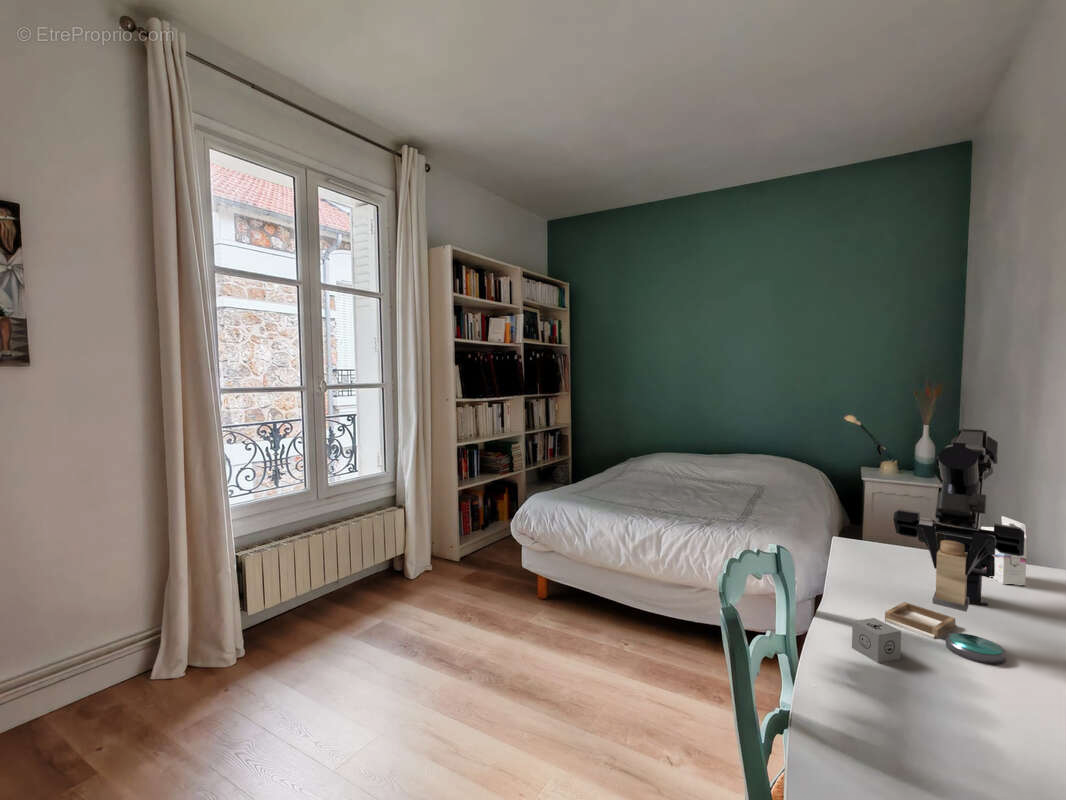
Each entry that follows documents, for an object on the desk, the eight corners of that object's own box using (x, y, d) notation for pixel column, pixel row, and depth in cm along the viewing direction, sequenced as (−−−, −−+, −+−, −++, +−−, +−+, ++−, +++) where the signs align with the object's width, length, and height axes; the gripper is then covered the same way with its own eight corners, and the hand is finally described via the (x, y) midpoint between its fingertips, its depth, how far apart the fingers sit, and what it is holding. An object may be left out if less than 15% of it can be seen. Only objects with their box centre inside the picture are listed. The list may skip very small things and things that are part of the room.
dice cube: (851, 648, 89) (852, 621, 89) (873, 644, 90) (874, 617, 90) (877, 663, 84) (878, 634, 84) (900, 659, 86) (901, 631, 85)
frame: (905, 608, 105) (905, 601, 105) (956, 625, 98) (956, 617, 97) (883, 620, 100) (883, 612, 99) (935, 639, 92) (935, 630, 92)
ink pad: (939, 636, 93) (940, 628, 93) (995, 646, 90) (995, 638, 90) (953, 657, 86) (953, 648, 86) (1014, 669, 82) (1015, 660, 82)
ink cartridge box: (977, 571, 126) (979, 514, 125) (1000, 573, 125) (1002, 515, 124) (1002, 584, 118) (1004, 523, 117) (1026, 586, 117) (1029, 524, 116)
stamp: (936, 594, 95) (937, 537, 95) (969, 602, 92) (970, 543, 91) (932, 603, 92) (933, 543, 91) (966, 611, 89) (968, 550, 88)
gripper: (896, 469, 100) (883, 535, 93) (1026, 483, 87) (1022, 561, 80) (902, 501, 106) (890, 565, 99) (1025, 518, 93) (1022, 594, 86)
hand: (950, 570), depth 91 cm, fingers closed on stamp, 4 cm apart
